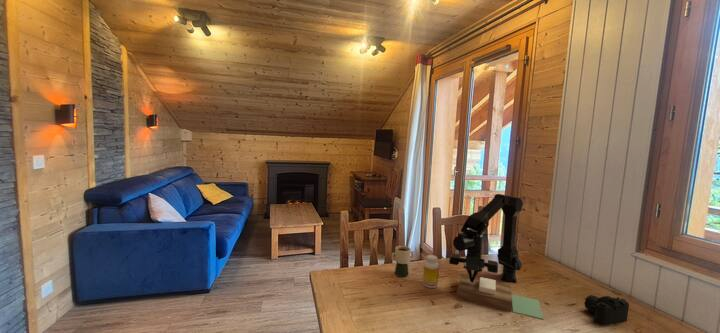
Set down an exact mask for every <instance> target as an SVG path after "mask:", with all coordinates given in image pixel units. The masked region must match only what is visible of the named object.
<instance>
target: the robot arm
mask: <svg viewBox="0 0 720 333" xmlns="http://www.w3.org/2000/svg"><path fill="white" fill-rule="evenodd" d="M523 205H524V201H523V200H522V198H521V197H518V196H513V195H508V194H501V193H497V194H495V195H494V196H493V198H492V199H491V200H490V201H489V202H488V203H487V204H486V205H485V206H484V207H483V208H482V209H481V210H479V211H477V212H474V213H471V214H470V215H469V216H468V217H467V218H466V220H465V221H464V224H463V225H462V227H461V229H460V232H459V233H457V236H455V237H454V239H453V241H452V245H453V247H454V248H455V250H456V251H458V252H463V251H466V255H465V257H461V256H462V255H461V254H458V253H451V254H450V256H449V262H448V263H449V264H450V265H455V266H458V265H459V264H460V263H463V267H462V268H463V269H465V270H466V271H467V274H468V277H469V278H470V281H471V282H472V283H473V281H474V279H475V278H477V275H478V273H479V272H482V273H483V269H485V268H486V270H487V271H488V272H489V273H494V274H498V273H499V265H501V266H502V272H501V273H500V280H501V281H506V282H509V283H511V282H512V283H518V282H517V276H516V275H517V271H520V270H521V269H522V266H523V263H522V261H521V260H520V259H519V258H520V257H519V250H518V249H517V247H516V236H517V235H516V233H517V218H518V215H519V214H520V213H521V212H522V209H523ZM500 210H502V213H503V214H504V222H503V223H504V225H503V237H502V238H503V239H502V246H500V248H498V249H497V261H495V260H489V259H487V262H486V260H485V259H483V258H482V254H483V251H482V250H483V241H484V240H483V239H484V237H485V236H486V235H487V233H486V232H485V231H486V230H487V228H489V225H490V220H491V219H492V218H493V217H494V216H495V215H496V214H497V213H498V212H499V211H500Z"/></svg>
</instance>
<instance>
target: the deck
mask: <svg viewBox="0 0 720 333" xmlns="http://www.w3.org/2000/svg"><path fill="white" fill-rule="evenodd" d="M459 278H460V279H459V282H458V286H457V290H456V299H458V300H461V301H467V302H470V303H475V304H478V305H483V306H487V307H490V308H495V309H499V310H502V311H507V312H513V308H512V294H513V293H512V285H510V284H504V283H500V282H496V291H495V295H494V294H490V293H485V292H481V291H479V285H480V278H477V277H475V279H474V281H473V283H472V282H471V281H470V278H469V275H462V274H460V277H459Z"/></svg>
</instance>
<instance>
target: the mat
mask: <svg viewBox="0 0 720 333" xmlns="http://www.w3.org/2000/svg"><path fill="white" fill-rule="evenodd" d="M512 312H513V313H515V314H519V315H522V316H527V317H531V318H536V319H539V320H544V315H543V312H542V309H541V303H540V301H539V299H534V298H530V297H526V296H521V295H516V294H513V293H512Z"/></svg>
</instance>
